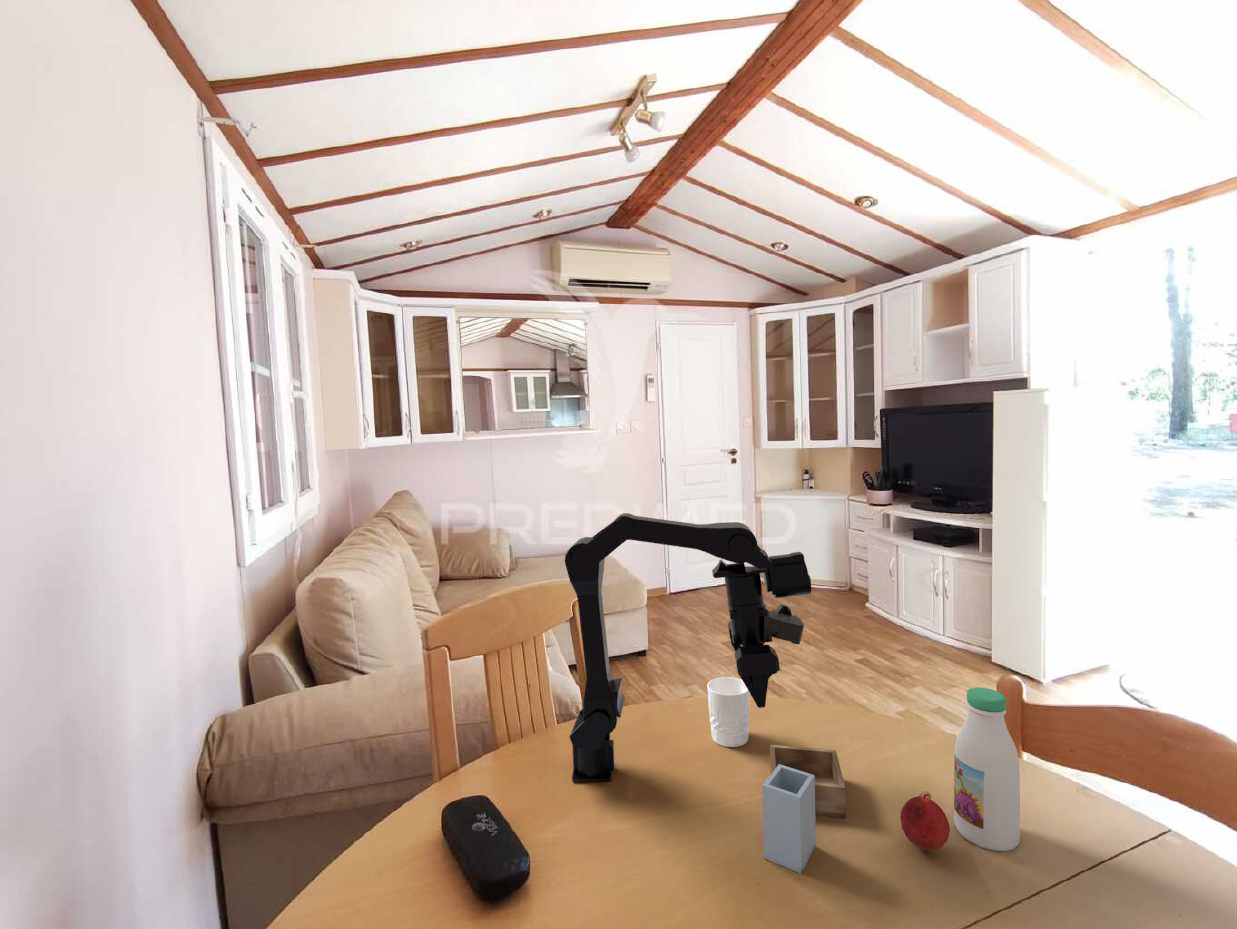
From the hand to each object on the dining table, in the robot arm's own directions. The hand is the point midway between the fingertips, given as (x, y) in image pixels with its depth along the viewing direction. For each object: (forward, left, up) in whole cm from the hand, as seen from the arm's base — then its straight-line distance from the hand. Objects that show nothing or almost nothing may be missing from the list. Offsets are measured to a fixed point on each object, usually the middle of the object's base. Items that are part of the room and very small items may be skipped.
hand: (757, 694), depth 96 cm
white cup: (-3, +13, -14) cm, 19 cm away
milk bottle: (+28, -14, -14) cm, 35 cm away
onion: (+18, -17, -14) cm, 29 cm away
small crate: (0, -17, -14) cm, 22 cm away
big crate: (+6, -4, -14) cm, 16 cm away
